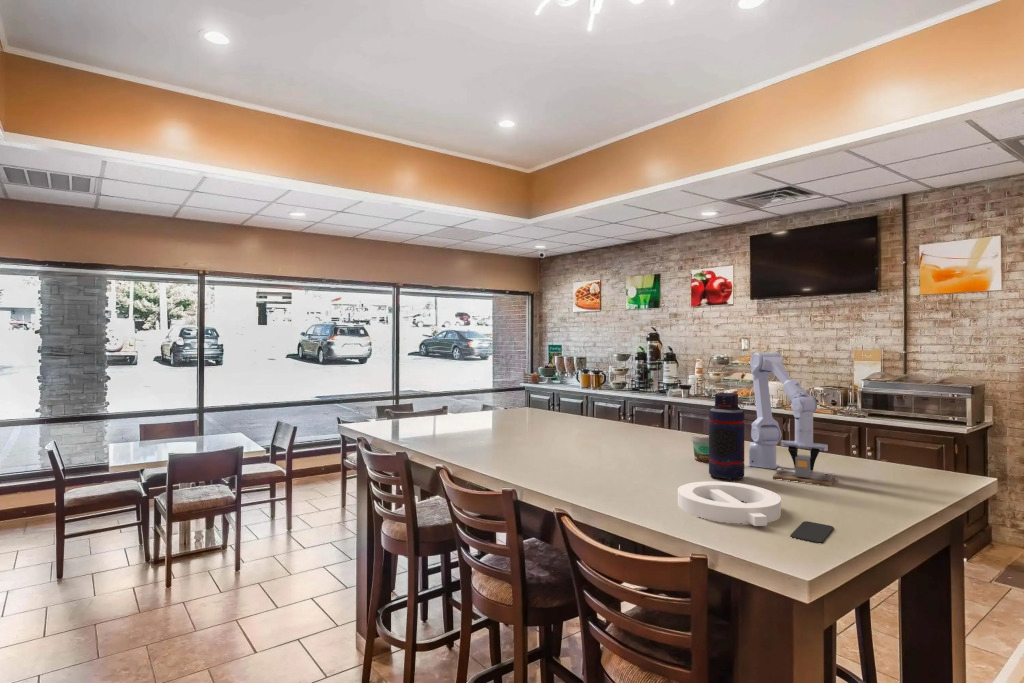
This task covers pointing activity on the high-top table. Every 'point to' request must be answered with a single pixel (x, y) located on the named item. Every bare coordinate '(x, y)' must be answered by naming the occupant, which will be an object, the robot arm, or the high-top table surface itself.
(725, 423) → the navy bottle
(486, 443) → the high-top table surface
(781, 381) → the robot arm
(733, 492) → the ring with crossbar
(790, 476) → the rail board
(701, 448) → the food container
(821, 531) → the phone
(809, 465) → the block
